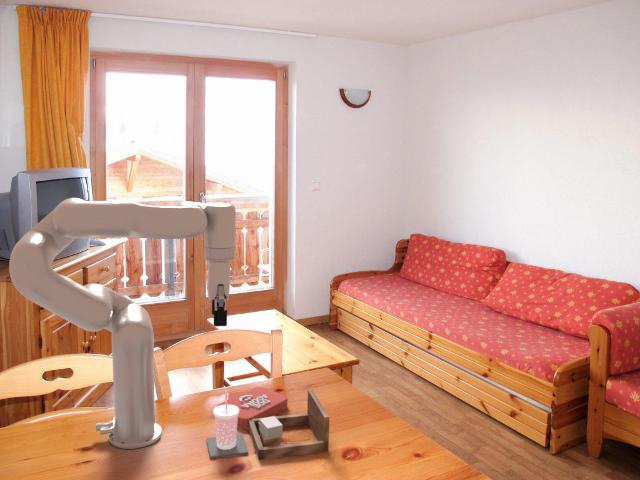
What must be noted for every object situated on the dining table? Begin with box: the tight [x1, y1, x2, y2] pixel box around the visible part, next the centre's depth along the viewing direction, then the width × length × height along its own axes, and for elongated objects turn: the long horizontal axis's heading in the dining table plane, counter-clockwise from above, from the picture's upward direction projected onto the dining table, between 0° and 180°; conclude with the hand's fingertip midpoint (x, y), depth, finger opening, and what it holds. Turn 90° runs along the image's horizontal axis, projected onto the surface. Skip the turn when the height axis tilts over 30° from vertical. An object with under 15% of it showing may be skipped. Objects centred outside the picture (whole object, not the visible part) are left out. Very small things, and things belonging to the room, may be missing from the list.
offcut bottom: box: [259, 432, 281, 447], centre depth 150 cm, size 4×6×3 cm, turn 14°
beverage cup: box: [213, 389, 239, 450], centre depth 146 cm, size 6×6×14 cm
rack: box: [247, 389, 330, 461], centre depth 151 cm, size 17×16×9 cm
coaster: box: [206, 433, 249, 460], centre depth 148 cm, size 9×9×1 cm
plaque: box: [216, 386, 288, 430], centre depth 168 cm, size 18×4×15 cm
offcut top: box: [258, 415, 284, 440], centre depth 149 cm, size 4×5×3 cm
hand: (219, 319), depth 153 cm, fingers open, 9 cm apart
